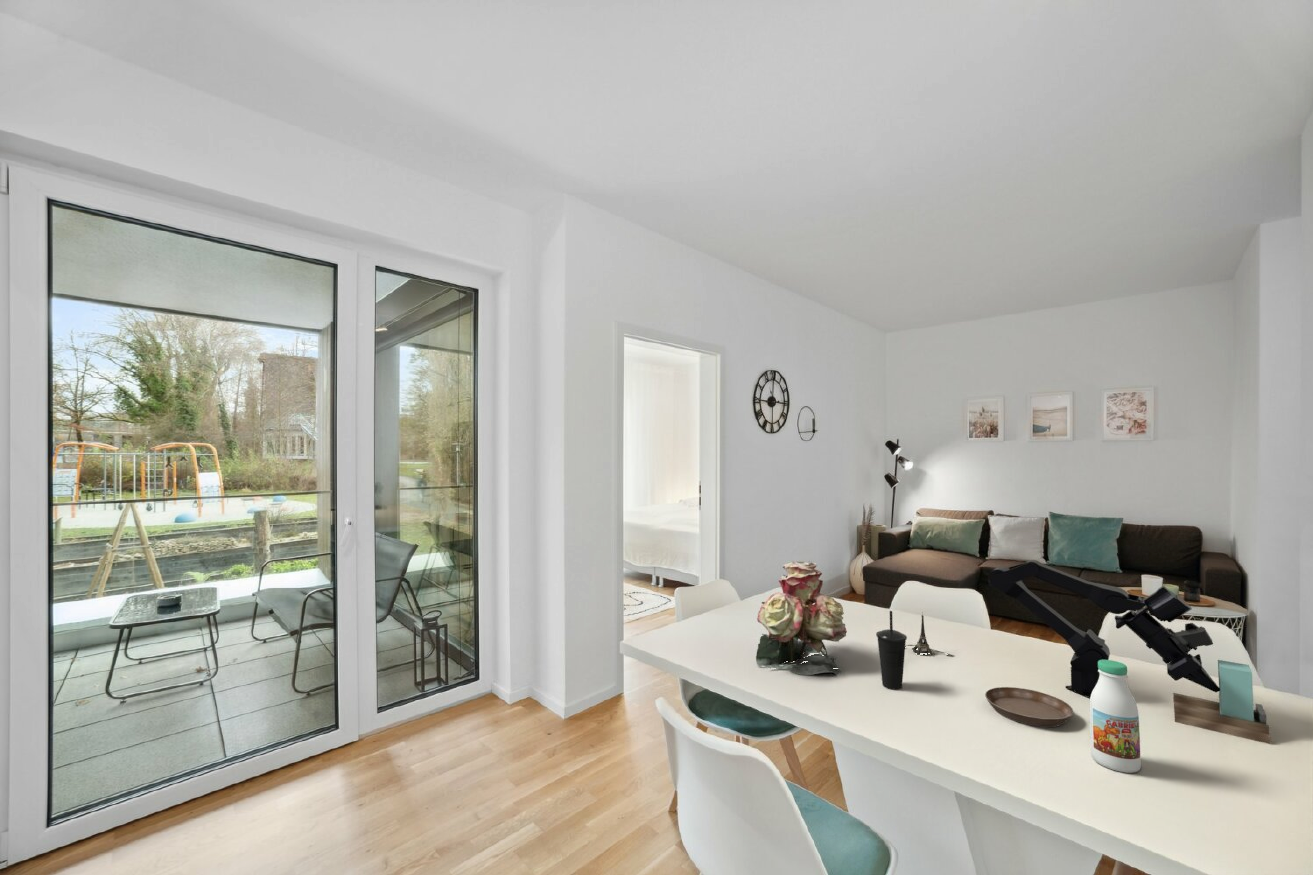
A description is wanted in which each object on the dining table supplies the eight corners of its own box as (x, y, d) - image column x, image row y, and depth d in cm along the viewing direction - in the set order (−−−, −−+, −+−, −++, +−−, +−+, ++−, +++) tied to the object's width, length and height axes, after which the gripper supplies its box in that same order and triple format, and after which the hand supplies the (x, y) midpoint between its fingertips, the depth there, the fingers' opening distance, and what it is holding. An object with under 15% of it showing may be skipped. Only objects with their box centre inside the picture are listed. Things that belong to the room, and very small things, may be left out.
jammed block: (1222, 720, 126) (1220, 666, 126) (1219, 711, 130) (1217, 659, 130) (1254, 727, 122) (1252, 672, 123) (1250, 717, 127) (1248, 664, 127)
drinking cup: (907, 683, 150) (906, 609, 151) (907, 694, 144) (906, 616, 144) (877, 678, 154) (876, 606, 154) (876, 688, 147) (874, 613, 147)
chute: (1174, 721, 128) (1174, 699, 128) (1173, 702, 138) (1172, 682, 138) (1270, 744, 118) (1269, 720, 118) (1262, 722, 128) (1261, 700, 128)
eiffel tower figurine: (956, 657, 171) (956, 614, 171) (940, 665, 165) (939, 620, 165) (910, 644, 183) (909, 603, 183) (893, 650, 177) (892, 608, 177)
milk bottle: (1081, 753, 115) (1078, 656, 115) (1115, 752, 115) (1112, 655, 116) (1115, 775, 107) (1111, 671, 108) (1151, 773, 108) (1148, 669, 108)
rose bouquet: (751, 673, 158) (750, 567, 159) (768, 640, 185) (767, 551, 186) (846, 685, 149) (844, 574, 150) (849, 650, 176) (847, 555, 177)
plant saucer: (968, 704, 138) (968, 692, 138) (1018, 693, 144) (1018, 681, 144) (1039, 738, 122) (1038, 724, 122) (1091, 724, 128) (1091, 710, 128)
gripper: (1185, 622, 125) (1258, 685, 118) (1182, 606, 139) (1248, 661, 131) (1140, 649, 130) (1208, 711, 123) (1142, 631, 144) (1203, 685, 136)
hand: (1218, 690), depth 128 cm, fingers closed, pressing on jammed block
